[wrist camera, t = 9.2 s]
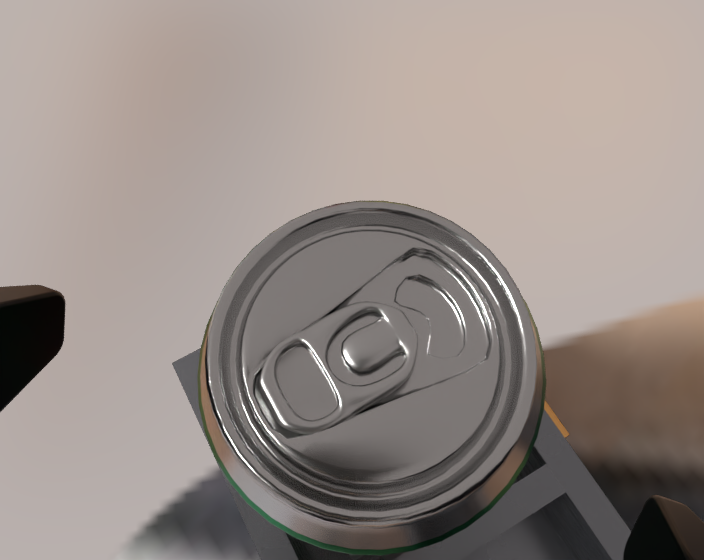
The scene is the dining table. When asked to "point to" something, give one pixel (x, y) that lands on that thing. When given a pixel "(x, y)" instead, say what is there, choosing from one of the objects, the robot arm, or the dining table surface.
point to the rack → (493, 527)
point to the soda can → (371, 378)
